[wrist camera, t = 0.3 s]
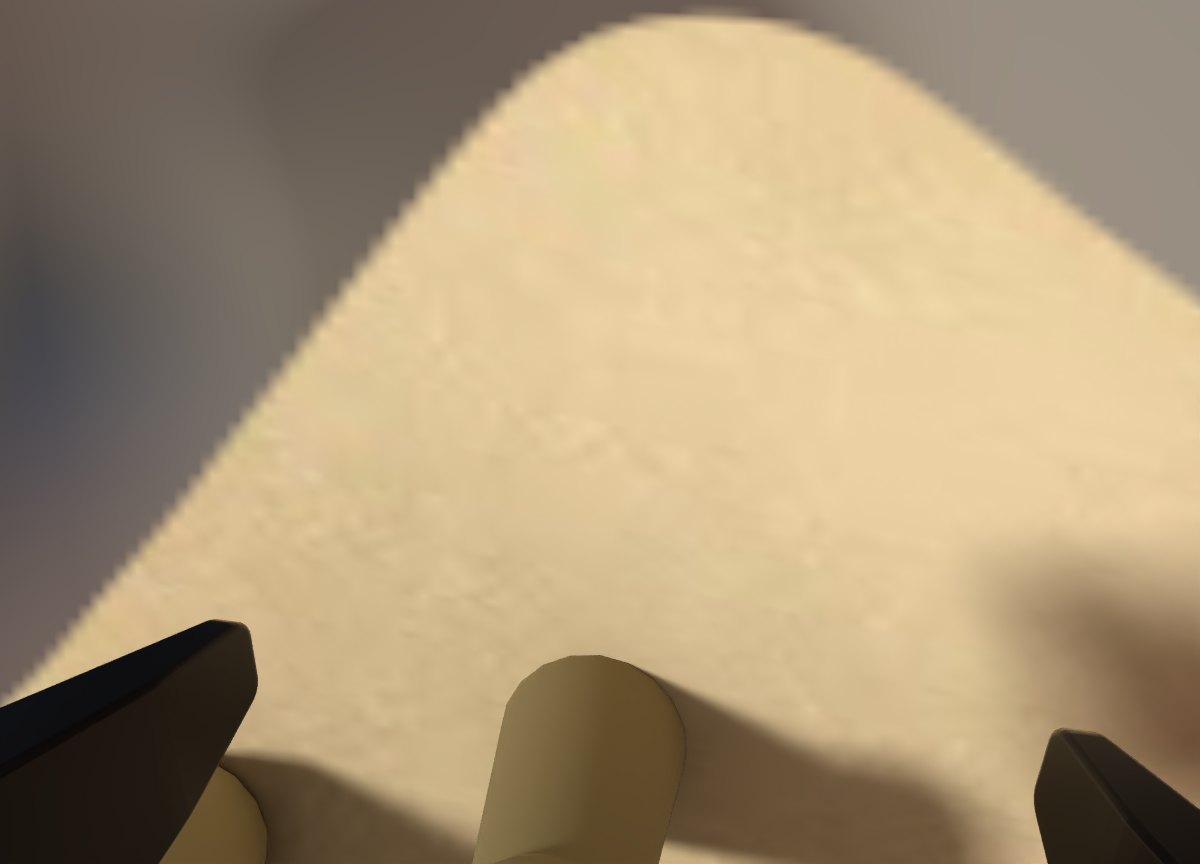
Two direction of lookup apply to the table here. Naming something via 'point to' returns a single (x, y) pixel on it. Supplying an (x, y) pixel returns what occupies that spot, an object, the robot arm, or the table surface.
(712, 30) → the table surface
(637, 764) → the pepper mill
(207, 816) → the squeeze bottle
